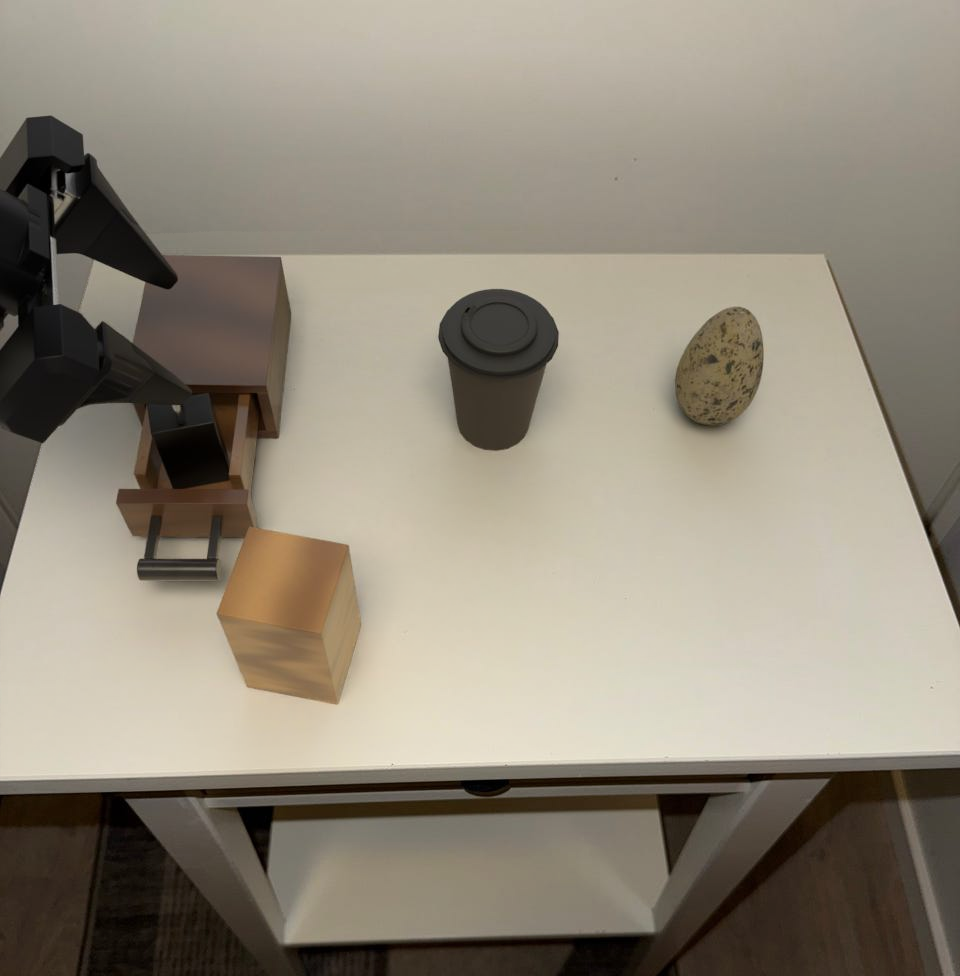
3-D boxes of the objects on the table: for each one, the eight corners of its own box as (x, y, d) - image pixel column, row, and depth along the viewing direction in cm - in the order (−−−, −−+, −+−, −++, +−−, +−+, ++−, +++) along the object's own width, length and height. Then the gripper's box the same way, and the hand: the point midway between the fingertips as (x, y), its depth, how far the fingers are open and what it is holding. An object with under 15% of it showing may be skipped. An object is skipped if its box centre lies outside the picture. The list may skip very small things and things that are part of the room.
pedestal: (246, 687, 63) (215, 613, 54) (273, 607, 65) (248, 525, 57) (338, 705, 62) (321, 633, 54) (361, 623, 65) (349, 544, 57)
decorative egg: (659, 385, 76) (687, 282, 67) (734, 381, 76) (772, 278, 67) (674, 446, 73) (705, 347, 64) (752, 441, 73) (794, 342, 64)
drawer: (250, 596, 65) (239, 565, 61) (121, 596, 64) (103, 565, 61) (271, 406, 72) (262, 370, 69) (155, 405, 72) (141, 368, 69)
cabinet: (278, 438, 72) (266, 385, 67) (146, 437, 72) (124, 384, 67) (291, 313, 78) (281, 256, 73) (169, 312, 78) (150, 254, 73)
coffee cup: (435, 383, 75) (433, 279, 66) (540, 378, 76) (552, 274, 67) (442, 468, 71) (442, 370, 62) (553, 462, 72) (568, 364, 63)
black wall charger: (173, 491, 67) (138, 405, 59) (169, 461, 68) (134, 373, 61) (232, 480, 68) (205, 393, 60) (227, 451, 69) (199, 362, 61)
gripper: (-159, 185, 55) (101, 309, 67) (-182, 448, 47) (118, 537, 58) (-74, 32, 49) (195, 196, 61) (-85, 302, 41) (228, 433, 53)
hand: (180, 338), depth 58 cm, fingers open, 9 cm apart
